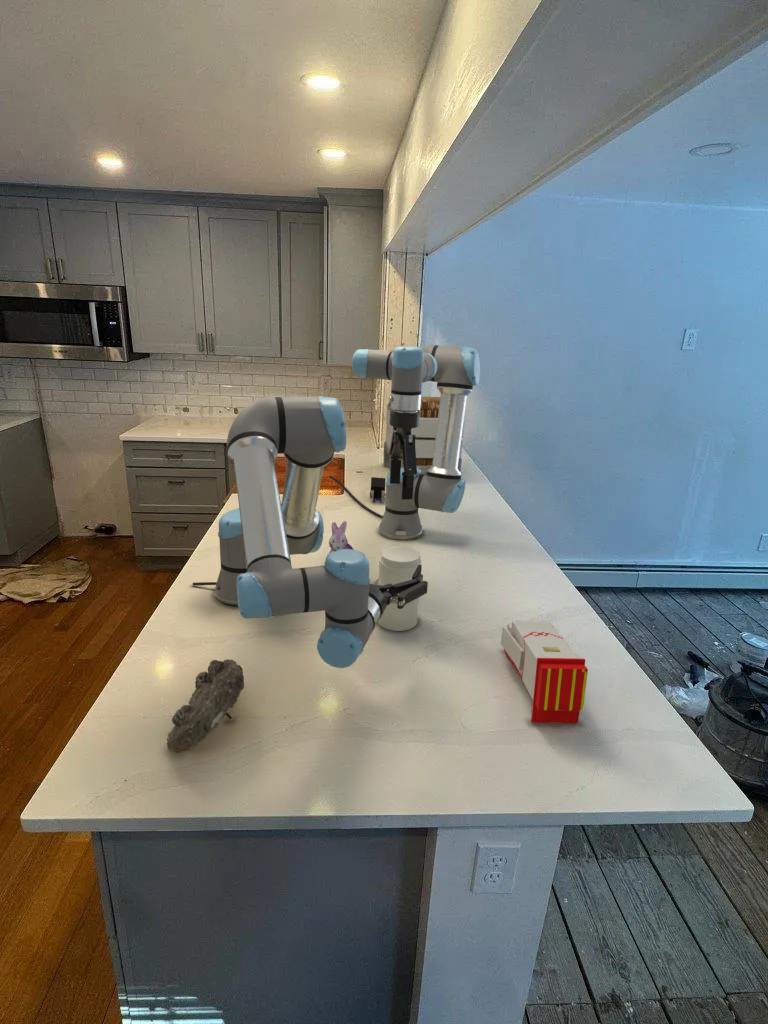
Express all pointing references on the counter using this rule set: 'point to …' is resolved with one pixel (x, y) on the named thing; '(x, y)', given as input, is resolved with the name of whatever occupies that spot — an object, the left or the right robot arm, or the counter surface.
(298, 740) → the counter surface
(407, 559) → the jar
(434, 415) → the white slatted crate
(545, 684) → the toy
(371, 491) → the figurine character
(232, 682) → the fossil
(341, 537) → the figurine
